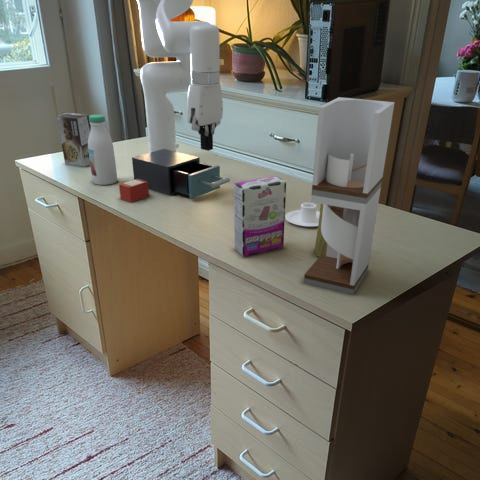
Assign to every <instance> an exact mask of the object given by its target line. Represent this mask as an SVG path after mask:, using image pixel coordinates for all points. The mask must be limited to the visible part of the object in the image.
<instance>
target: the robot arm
mask: <svg viewBox="0 0 480 480" xmlns="http://www.w3.org/2000/svg"><path fill="white" fill-rule="evenodd" d="M136 2H137V5H138V11H139V23H140V35H141V45H142V49H143V52H144V54H145V55H146V56H147V57H149V58H175V59H176V61H154V62H153V61H152V62H148V63H146V64H144V65H143V66H142V67H141V69H140V73H139V75H140V77H139V78H140V82H141V86H142V91H143V96H144V102H145V111H146V113H145V114H146V124H147V137H148V147H149V149H148V150H149V153H150V152H154V151H158V150H161V149H167V150H171V151H175V152H177V149H178V148H180V144H179V143H178V142H177V140H176V139H177V138H176V123H175V121H176V120H175V108H174V104H173V103H172V101H171V100H170V99H169V98H168V97H167V95H166V94H172V93H186V92H187V103H186V108H187V109H186V119H187V123H188V124H189V125H191V130H192V131H195V132H198V135H199V136H200V149H201V150H203V151H208V152H209V151H212V150H213V149H214V135H215V130H216V128H217V127H218V126H219V125H221V120H222V119H223V115H224V106H223V105H224V104H223V94H222V92H223V91H222V86H221V80H220V79H221V77H220V76H221V73H220V72H221V71H220V70H221V69H220V65H221V64H220V61H221V60H220V29H219V28H218V26H217V25H216V24H212V23H210V22H208V21H205V20H204V21H203V20H202V21H201V20H200V21H197V20H196V21H195V20H194V21H190V20H189V21H187V20H186V21H180V20H179V21H172V20H173V19H175V18H176V17H179V16H181V15H183V14H185V13H186V12H187V11H188V10H189V9H190V8H191V7H192V5H193V2H194V0H136Z"/></svg>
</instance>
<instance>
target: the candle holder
mask: <svg viewBox="0 0 480 480" xmlns="http://www.w3.org/2000/svg"><path fill="white" fill-rule="evenodd" d="M317 208H318V205H317V203H314V202H303V203H301V204H300V209H295V210H291V211H288V212H287V213H285V221H287V222H289V223H291V224H293V225H296V226H299V227H300V226H301V227H318V224H319V216H320V210H317Z"/></svg>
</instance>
